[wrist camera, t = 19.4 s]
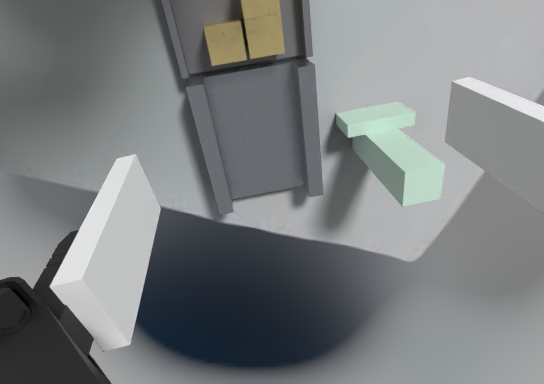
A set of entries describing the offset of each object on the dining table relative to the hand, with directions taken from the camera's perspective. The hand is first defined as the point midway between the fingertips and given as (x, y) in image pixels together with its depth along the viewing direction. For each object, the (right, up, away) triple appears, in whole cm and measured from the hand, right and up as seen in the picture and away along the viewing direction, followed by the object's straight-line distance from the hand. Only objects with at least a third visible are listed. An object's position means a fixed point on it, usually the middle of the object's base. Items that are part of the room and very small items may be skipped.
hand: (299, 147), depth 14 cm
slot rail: (-3, +6, +34) cm, 34 cm away
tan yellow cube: (-3, +17, +27) cm, 32 cm away
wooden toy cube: (-7, +16, +26) cm, 32 cm away
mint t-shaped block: (+13, +7, +36) cm, 39 cm away
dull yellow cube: (-3, +21, +24) cm, 32 cm away
